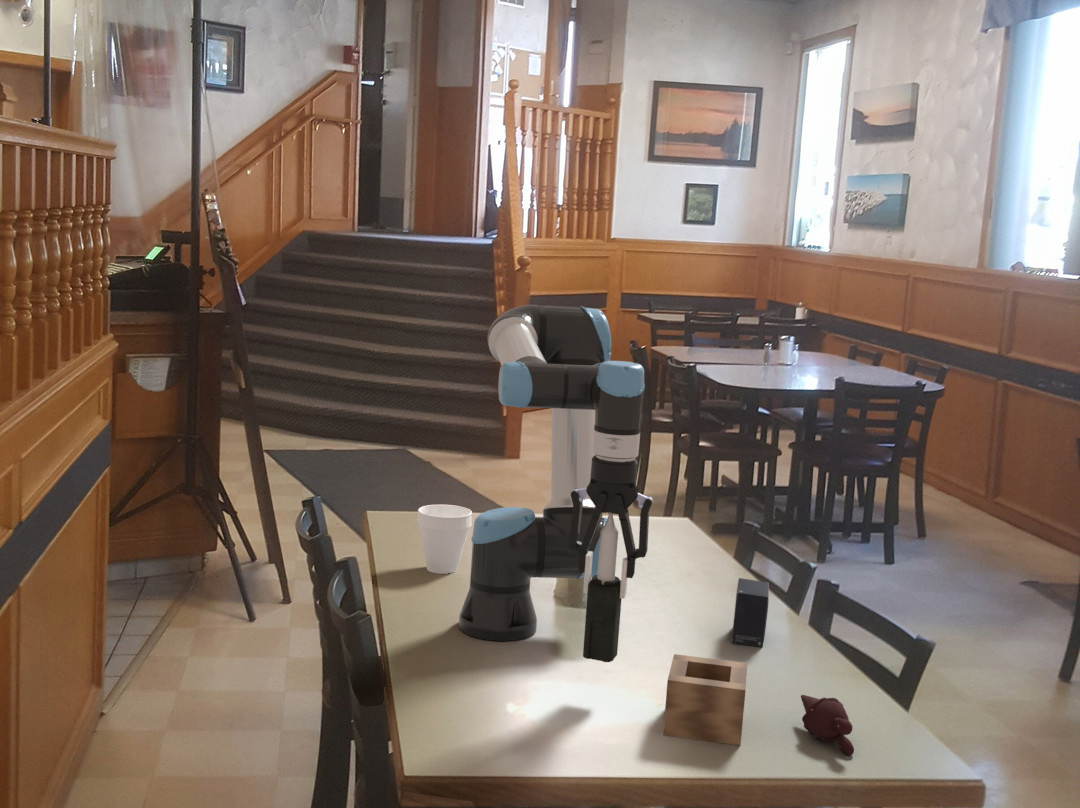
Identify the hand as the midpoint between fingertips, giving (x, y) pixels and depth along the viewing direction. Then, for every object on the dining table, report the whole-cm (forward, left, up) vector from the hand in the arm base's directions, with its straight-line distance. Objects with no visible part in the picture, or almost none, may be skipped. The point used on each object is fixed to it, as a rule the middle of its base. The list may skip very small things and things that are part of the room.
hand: (604, 593), depth 195 cm
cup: (-45, +61, -18) cm, 78 cm away
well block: (+18, -6, -18) cm, 26 cm away
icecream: (+37, -4, -18) cm, 42 cm away
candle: (0, 0, -11) cm, 11 cm away
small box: (+24, +40, -18) cm, 51 cm away
